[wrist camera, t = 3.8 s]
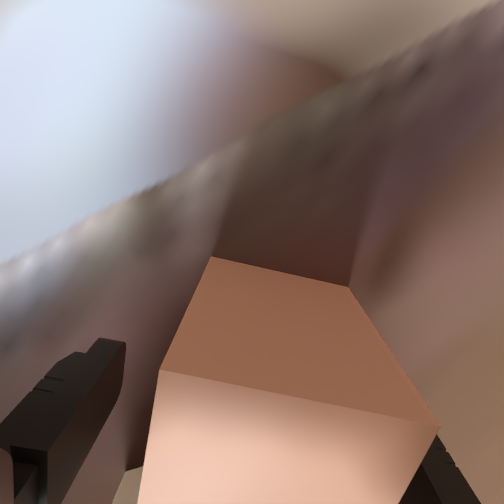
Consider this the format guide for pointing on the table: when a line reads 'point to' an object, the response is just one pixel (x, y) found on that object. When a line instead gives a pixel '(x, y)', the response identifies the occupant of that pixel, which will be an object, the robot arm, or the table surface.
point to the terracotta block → (281, 399)
